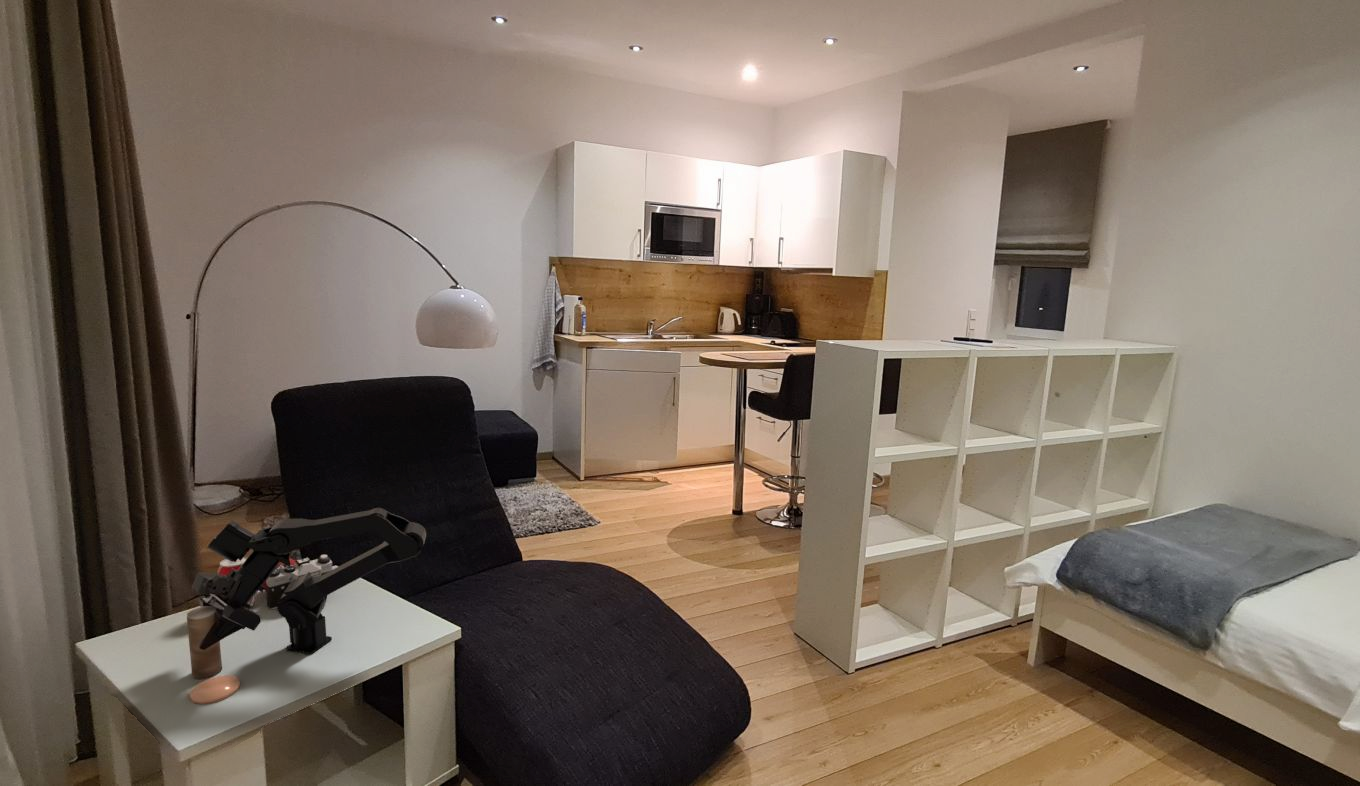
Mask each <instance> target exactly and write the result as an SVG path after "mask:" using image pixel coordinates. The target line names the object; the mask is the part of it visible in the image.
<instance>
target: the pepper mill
mask: <svg viewBox="0 0 1360 786" xmlns="http://www.w3.org/2000/svg"><path fill="white" fill-rule="evenodd" d="M215 611H216V612H217V610H216V607H214V606H203V607H201V606H199V607H196V608H193V609H191V610H189V611H188V612H187V613H186V624H187V635H188V644H189V646H188V647H189V657H190V667H191V677H192V679H196V680H204V679H205V680H206V679H211V678H213V677H214V676H215V677H216V675H218V674H220V673H221V671H222V670H223V663H222V653H221V642H220V641H221V640H220V641H219V642H217V643H215V644H214V645H212V646H210V647H208V648H207V649H205V650H202V649H200V648H199V646H200V645H201V643H202V641H203V640H204V638H205V637H206V635H207V634H208V632H209V631H210V629H211V628H212V626H213V625H214V623H215Z"/></svg>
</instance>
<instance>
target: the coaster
mask: <svg viewBox="0 0 1360 786" xmlns="http://www.w3.org/2000/svg"><path fill="white" fill-rule="evenodd" d="M240 682H241V681H240V679H239V678H238V677H236V676H235V675H220V676H215V677H214V676H213V677H210V678H207V679H205V680H203V681H201V682H200V683H198V684H196V685H195V686H194V687H192V688H191V690H190V691H189V700H190V701H191V702H192V703H194V704H199V705H200V704H201V705H205V704H213V703H217V702H219V701H223V700H225V699H227V698H229V697H231V696H233V695H234V694H236V693H237V691H238V690H239V689H240V686H241V685H240Z"/></svg>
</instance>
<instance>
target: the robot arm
mask: <svg viewBox="0 0 1360 786" xmlns="http://www.w3.org/2000/svg"><path fill="white" fill-rule="evenodd" d="M366 532H374V533H375V534H376V535H378V536H379V537H380V538H381V539H382V540H384V541H383V542H382V543H381V544H379V545H377V546H375V547H373V548H372V549H369V550H367V551H366V552H364V553H362V554H360V555H358V556H356V557H354V558H353V559H351V560H349V561H347V562H344V563H343V564H341V565H339V566H337V567H335V568H332V570H331V571H329V572H327V573H325V574H324V575H321V576H317V577H312V576H311V574H310V572H308V573H306V574H305V575H304V576H302V577H301V578H298V579H294V580H292V581H291V583H290V584H289V586H288V588H287V589H286V591H285V592H284V594H283V595H282V597H281V598H280V600H279V601H278V604H277V608H276V609H277V612H278V614H279V615H280V616H281V617H282V618H284V620H285V621H286V622H287V625H288V629H289V641H290V644H289V645H288V646H286V647H285V649H286V651H291V652H298V653H303V654H314V653H315V652H317V651H318V650H319V649H321V648H322V647H323V646H325V645H326V644H328V643H329V642H330V641H332V639H333V637H332V636H329V635H327V624H326V616H325V615H323V614H322V611H323V609H324V608H325V605H326V603H327V599H324V597H326V596H327V597H328V595H330V594H332V593H334V592H336V591H338V590H340V589H341V588H343V587H345V586H348V585H349V584H351V583H353V582H355V581H356V580H358V579H361V578H362V577H364V576H366V575H368V574H370V573H372V572H374V571H376V570H378V569H380V568H381V567H383V566H385V565H387V564H391V563H398V562H399V563H400V562H403V561H406V560H409V559H412V558H415V557H417V556H418V555H420V553H421V552H422V551H423V549H424V545H425V543H426V542H425V541H426V538H427V531H426V528H425V527H424V526H423V525H422V524H420V523H417V522H414V521H409V520H408V519H406V518H404V517H402V516H400V515H396V514H394V513H391V512H389V511H388V510H386V509H384V508H381V507H375V508H373V509H369V510H364V511H359V512H357V511H356V512H353V513H348V514H341V515H336V516H330V517H325V518H321V519H320V518H319V519H308V518H284V519H280V520H278V521H277V522H276V523H275V524H274V525H273V526H269V527H266V528H263V529H259V530H257V532H255V533H253V532H252V531H250V530H248V529H246V528H244V527H243V526H242V525H240V524H239V523H237V522H236V521H235V520H231V521H230V522H228V523H227V524H226V526H225V527H224V528H223V529H222V530H221V531H220V532H219V533H218V534H216V536H215V537H214V538H213V539H212V540H211V541H210V543H209V544H208V545H207V547H206V549H208V550H210V551H211V552H213V553H214V554H217V555H218V556H220V557H222V558H224V559H227V560H229V561H231V562H236V561H237V560H240V561H241V560H242V559H243V558H244V557H246V555H247V554H248V553H249V551H250V550H252V552H251V553H250V554H249V556H248V557H247V559H246V560H245V562H244V563H243V564H242V565H241V567H240V568H239V569H238V570H237V571H236V570H234V569H233V570H231V571H230V572H229V573H228V574H227V575H220V574H217V573H213V572H212V573H211V572H202V571H201V572H200V571H199V572H197V575H196V576H195V579H194V581H193V584H192V586H191V589H192V590H194V592H195V593H196V594H197V595H199V596H200V597H198V602H199V605H200V606H199V607H203V606H214V607H216V610H217V612H216V611H215V623H214V625H213V626H212V628H211V629H210V631H209V632H208V634H207V635H206V637H205V638H204V640H203V641H202V643H201V645H200V646H199V648H200V649H202V650H205V649H207V648H208V647H210V646H212V645H214V644H215V643H217V642H219V641H222V640H224V639H225V638H227V637H229V636H231V635H233V634H234V633H236V632H239V631H240V630H245V629H246V628H247V629H249V630H250V631H255V630H256V629H257V627H259V625H260V624H261V621H262V620H261V615H259V614H258V613H257V612H255V611H254V610H252V609H250V608H251V607H252V606H251V605H249V604H248V603H249V602H250V600H251V599H252V598H253V596H254V595H256V594H257V593H258V591H259V592H261V593H263V592H264V591H265V590H264V589H265V587H263V586H262V585H263V584H264V583H265V581H266V580H267V579H268V578H269V576H270V575H271V574H272V573H273V571H274V570H275V569H276V568H277V566H278V565H279V564H280V562H282V563H283V564H285V565H287V566H290V564H291V563H290V559H289V558H290V555H291V552H294V551H296V550H297V551H298V550H299V549H301V548H304V547H306V546H307V545H309V544H313V543H315V542H319V541H324V540H328V539H334V538H340V537H346V536H350V535H357V534H361V533H366ZM201 597H203V598H201ZM254 597H255V596H254ZM222 608H224V610H223V609H222Z"/></svg>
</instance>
